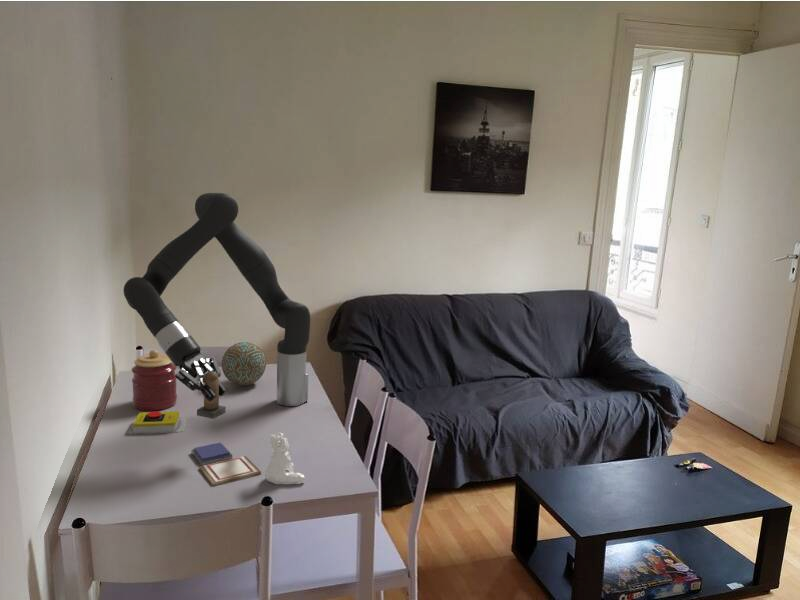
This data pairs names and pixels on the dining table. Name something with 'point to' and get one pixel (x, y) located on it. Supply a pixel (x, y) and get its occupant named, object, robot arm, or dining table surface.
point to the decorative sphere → (243, 363)
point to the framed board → (229, 470)
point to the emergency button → (158, 423)
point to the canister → (154, 382)
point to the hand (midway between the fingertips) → (218, 396)
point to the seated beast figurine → (281, 463)
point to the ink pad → (211, 453)
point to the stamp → (213, 407)
